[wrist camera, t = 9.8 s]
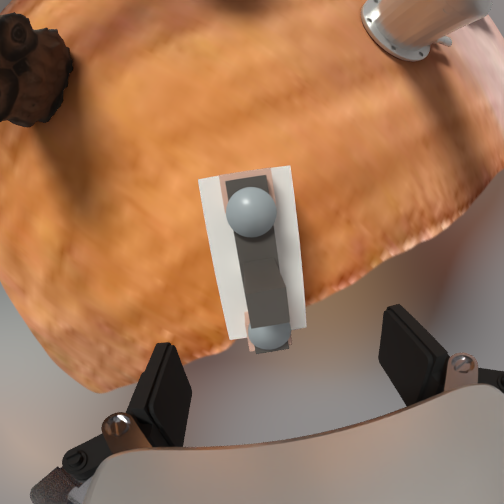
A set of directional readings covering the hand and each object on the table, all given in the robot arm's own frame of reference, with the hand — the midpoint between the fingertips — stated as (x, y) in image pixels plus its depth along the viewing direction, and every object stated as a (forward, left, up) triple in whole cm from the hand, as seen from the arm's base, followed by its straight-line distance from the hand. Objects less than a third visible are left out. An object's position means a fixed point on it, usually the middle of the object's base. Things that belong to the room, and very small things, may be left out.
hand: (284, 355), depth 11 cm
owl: (+28, -30, -25) cm, 48 cm away
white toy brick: (0, 0, -24) cm, 24 cm away
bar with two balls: (0, 0, -14) cm, 14 cm away
